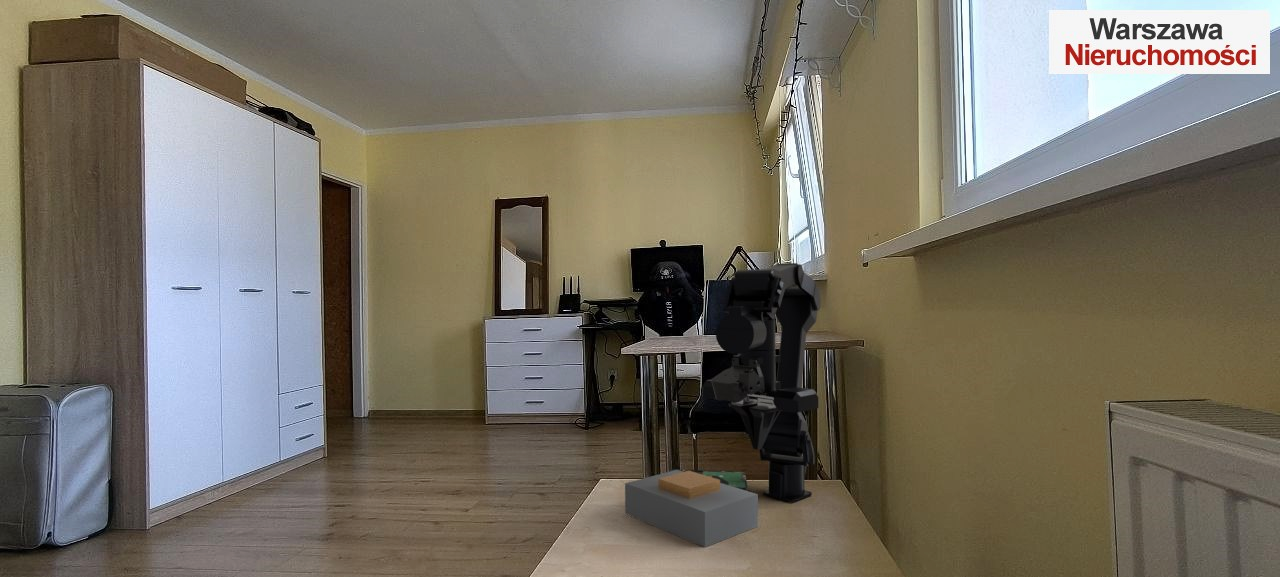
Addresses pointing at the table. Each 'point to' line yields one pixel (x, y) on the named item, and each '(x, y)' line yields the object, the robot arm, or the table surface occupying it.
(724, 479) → the disk drive
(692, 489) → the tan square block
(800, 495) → the robot arm
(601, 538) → the table surface
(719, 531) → the gray rectangular block
